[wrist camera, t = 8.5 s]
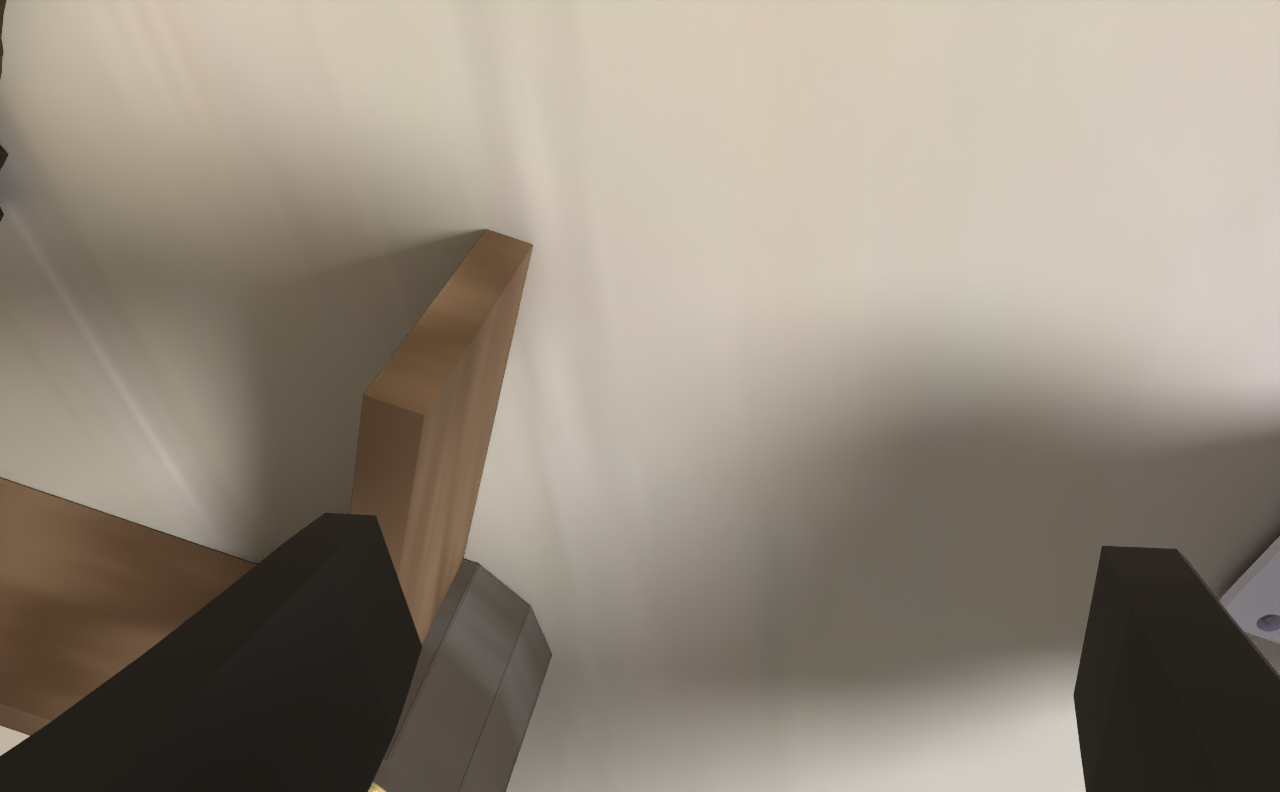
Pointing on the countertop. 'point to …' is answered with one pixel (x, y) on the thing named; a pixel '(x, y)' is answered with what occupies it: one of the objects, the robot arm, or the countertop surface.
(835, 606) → the countertop surface
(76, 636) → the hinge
